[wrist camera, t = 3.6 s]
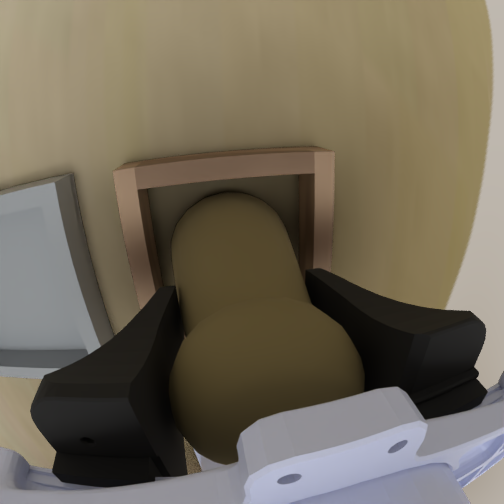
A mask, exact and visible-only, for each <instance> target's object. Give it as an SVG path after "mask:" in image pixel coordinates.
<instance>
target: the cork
mask: <svg viewBox="0 0 504 504" xmlns="http://www.w3.org/2000/svg"><path fill="white" fill-rule="evenodd" d="M171 260H172V266H173V272H174V278H175V284H176V290H177V296H178V301H179V307H180V312H181V317H182V323H183V328H184V333H185V339H184V340H183V342H182V344H181V346H180V349H179V351H178V353H177V356H176V359H175V361H174V364H173V367H172V370H171V373H170V376H169V398H170V405H171V411H172V414H173V418H174V421H175V424H176V427H177V428H178V430H179V431H180V432H181V434H182V435H183V436H184V437H185V439H186V440H187V441H188V442H189V443H190V445H191V446H192V447H193V448H194V449H195V450H196V452H197V453H198V454H200V455H202V456H204V457H205V458H207V459H209V460H211V461H213V462H216V463H219V464H223V465H229V464H232V463H235V462H238V459H239V457H238V451H237V443H238V440H239V437H240V434H241V432H243V431H244V430H245V429H247V428H248V427H249V426H251V425H252V424H253V423H255V422H256V421H257V420H259V419H261V418H264V417H268V416H271V415H274V414H277V413H280V412H284V411H289V410H294V409H299V408H304V407H309V406H313V405H317V404H322V403H326V402H330V401H334V400H338V399H342V398H346V397H350V396H353V395H357V394H361V393H364V388H365V372H364V368H363V364H362V360H361V357H360V355H359V353H358V351H357V349H356V348H355V346H354V344H353V342H352V340H351V339H350V337H349V336H348V334H347V333H346V331H345V330H344V328H343V327H342V326H341V325H340V324H339V323H337V322H336V321H335V320H333V319H332V318H331V317H329V316H328V315H326V314H325V313H323V312H322V311H321V310H319V309H318V308H316V307H315V306H313V305H312V303H311V300H310V297H309V294H308V291H307V288H306V285H305V282H304V280H303V277H302V274H301V271H300V268H299V265H298V262H297V259H296V256H295V253H294V251H293V248H292V245H291V242H290V239H289V236H288V234H287V231H286V228H285V225H284V224H283V222H282V221H281V219H280V217H279V216H278V214H277V212H276V211H275V210H274V209H273V208H271V207H270V206H269V205H268V204H266V203H265V202H264V201H263V200H261V199H258V198H256V197H253V196H250V195H247V194H245V193H220V194H217V195H213V196H210V197H207V198H204V199H202V200H201V201H199V202H198V203H196V204H195V205H194V206H192V207H191V208H189V209H188V210H187V211H186V213H185V214H184V215H183V217H182V218H181V219H180V220H179V222H178V223H177V225H176V228H175V231H174V234H173V237H172V240H171Z"/></svg>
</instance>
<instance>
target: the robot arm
mask: <svg viewBox="0 0 504 504" xmlns="http://www.w3.org/2000/svg"><path fill="white" fill-rule="evenodd" d="M305 285H306V288H307V291H308V294H309V297H310V300H311V303H312V305H313V306H315V307H316V308H318V309H319V310H321V311H322V312H323V313H325V314H326V315H328V316H329V317H331V318H332V319H333V320H335V321H336V322H337V323H339V324H340V325H341V326H342V327H343V328H344V330H345V331H346V333H347V334H348V336H349V337H350V339H351V340H352V342H353V344H354V346H355V348H356V349H357V351H358V353H359V355H360V357H361V360H362V364H363V368H364V372H365V388H364V393H361V394H357V395H353V396H350V397H346V398H342V399H338V400H334V401H330V402H326V403H322V404H317V405H313V406H309V407H304V408H299V409H294V410H289V411H284V412H280V413H277V414H274V415H271V416H268V417H264V418H261V419H259V420H257V421H256V422H255V423H253V424H252V425H251V426H249V427H248V428H247V429H245V430H244V431H243V432H241V434H240V437H239V440H238V443H237V451H238V457H239V459H238V462H235V463H232V464H229V465H223V464H219V463H216V462H213V461H211V460H209V459H207V458H205V457H204V456H202V455H200V454H198V453H197V452H196V450H195V449H194V448H193V449H194V451H195V454H196V456H197V459H198V461H199V464H200V466H201V470H202V472H198V473H194V474H189V475H188V474H187V466H186V458H185V449H184V439H183V435H182V434H181V432H180V431H179V430H178V428H177V427H176V424H175V421H174V418H173V414H172V411H171V405H170V398H169V376H170V373H171V370H172V367H173V364H174V361H175V359H176V356H177V353H178V351H179V349H180V346H181V344H182V342H183V340H184V328H183V323H182V317H181V312H180V307H179V302H178V297H177V291H176V286H175V285H174V286H165V287H160V288H159V289H158V290H157V291H156V292H155V294H154V295H153V296H152V297H151V299H150V300H149V301H148V302H147V304H146V305H145V306H144V307H143V308H142V309H141V311H140V312H139V313H138V314H137V315H136V316H135V317H134V318H133V319H132V320H131V321H130V322H129V323H128V325H127V326H126V327H124V328H123V329H122V330H121V331H120V332H119V333H118V334H117V335H115V336H114V337H113V338H112V339H111V340H109V341H108V342H106V343H105V344H104V345H102V346H101V347H99V348H98V349H96V350H95V351H93V352H92V353H90V354H89V355H87V356H85V357H83V358H82V359H80V360H78V361H76V362H74V363H72V364H70V365H68V366H66V367H63V368H61V369H59V370H56V371H54V372H51V373H49V374H46V375H44V377H43V379H42V381H41V383H40V386H39V388H38V390H37V393H36V395H35V398H34V400H33V403H32V405H31V410H30V412H31V416H32V419H33V421H34V423H35V425H36V426H37V428H38V429H39V431H40V432H41V433H42V434H43V436H44V437H45V438H46V439H47V441H48V442H49V443H50V444H51V446H52V447H53V448H54V449H55V450H56V456H55V461H54V465H53V469H48V468H42V467H37V466H31V465H29V464H28V462H27V461H26V460H25V459H24V457H23V456H21V455H20V454H19V453H17V452H16V451H14V450H11V449H7V448H3V447H0V504H471V503H470V501H469V500H468V498H467V496H466V495H465V493H464V491H463V490H462V488H463V487H465V486H466V485H468V484H469V483H471V482H472V481H473V480H475V479H476V478H478V477H479V476H480V475H482V474H483V473H484V472H485V471H487V470H488V469H490V468H491V467H492V466H493V465H495V464H496V463H497V462H498V461H500V460H501V459H502V458H503V457H504V371H503V373H502V375H501V377H500V379H499V382H498V383H497V384H496V385H494V386H492V387H490V388H489V389H487V390H486V389H485V388H484V387H483V385H482V384H481V383H480V382H479V381H478V380H477V379H476V378H477V377H478V375H479V372H478V371H477V370H476V369H475V368H474V365H475V363H476V361H477V358H478V356H479V354H480V352H481V349H482V347H483V344H484V341H485V336H486V335H485V334H486V328H485V324H484V323H483V322H482V321H481V320H480V319H479V318H478V317H476V316H475V315H474V314H473V313H472V312H471V311H456V310H455V311H454V310H441V309H433V308H426V307H420V306H415V305H411V304H406V303H403V302H399V301H396V300H392V299H389V298H386V297H383V296H381V295H378V294H375V293H373V292H371V291H368V290H366V289H364V288H361V287H359V286H357V285H355V284H353V283H351V282H349V281H347V280H345V279H343V278H341V277H339V276H337V275H335V274H333V273H331V272H329V271H327V270H324V269H322V268H315V269H307V270H305Z"/></svg>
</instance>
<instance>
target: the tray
mask: <svg viewBox="0 0 504 504" xmlns="http://www.w3.org/2000/svg"><path fill="white" fill-rule="evenodd" d="M113 337H114V334H113V331H112V328H111V325H110V322H109V319H108V316H107V313H106V310H105V307H104V304H103V300H102V297H101V294H100V290H99V287H98V284H97V280H96V276H95V273H94V269H93V265H92V262H91V258H90V254H89V250H88V245H87V241H86V237H85V233H84V228H83V223H82V219H81V214H80V209H79V204H78V198H77V193H76V187H75V181H74V175H73V173H70V174H65V175H61V176H56V177H52V178H47V179H43V180H39V181H35V182H30V183H26V184H23V185H19V186H15V187H11V188H7V189H4V190H0V376H4V377H17V378H34V379H43V377H44V375H46V374H49V373H51V372H54V371H56V370H59V369H61V368H63V367H66V366H68V365H70V364H72V363H74V362H76V361H78V360H80V359H82V358H83V357H85V356H87V355H89V354H90V353H92V352H93V351H95V350H96V349H98V348H99V347H101V346H102V345H104V344H105V343H106V342H108V341H109V340H111V339H112V338H113Z"/></svg>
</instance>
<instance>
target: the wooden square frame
mask: <svg viewBox="0 0 504 504" xmlns="http://www.w3.org/2000/svg"><path fill="white" fill-rule="evenodd" d="M334 172H335V151H331V150H327V149H324V148H320V147H283V148H263V149H247V150H234V151H221V152H211V153H200V154H191V155H182V156H174V157H166V158H158V159H151V160H144V161H137V162H131V163H125V164H123V165H122V166H120V167H118V168H117V169H115V170H114V171H113V176H114V183H115V190H116V196H117V202H118V208H119V214H120V220H121V225H122V230H123V236H124V241H125V246H126V250H127V255H128V260H129V264H130V269H131V273H132V277H133V282H134V286H135V290H136V294H137V298H138V302H139V306H140V309H142V308H143V307H144V306H145V305H146V304H147V302H148V301H149V300H150V299H151V297H152V296H153V295H154V294H155V292H156V291H157V290H158V289H159V288H160V287H163V282H162V277H161V271H160V266H159V261H158V255H157V250H156V244H155V238H154V232H153V226H152V220H151V213H150V206H149V199H148V192H147V188H154V187H161V186H169V185H177V184H186V183H195V182H204V181H214V180H224V179H235V178H247V177H260V176H274V175H290V174H299V268H300V271H301V274H302V277H303V280H304V282H305V270H307V269H315V268H322V269H324V270H327V271H329V272H331V262H332V243H333V219H334ZM184 339H185V333H184Z"/></svg>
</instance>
